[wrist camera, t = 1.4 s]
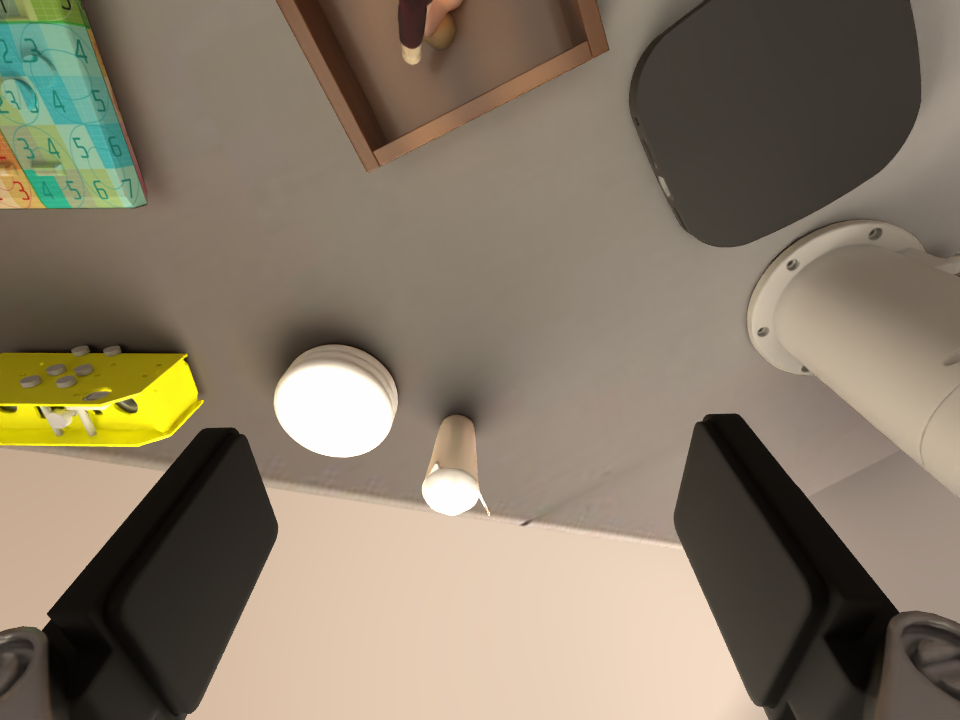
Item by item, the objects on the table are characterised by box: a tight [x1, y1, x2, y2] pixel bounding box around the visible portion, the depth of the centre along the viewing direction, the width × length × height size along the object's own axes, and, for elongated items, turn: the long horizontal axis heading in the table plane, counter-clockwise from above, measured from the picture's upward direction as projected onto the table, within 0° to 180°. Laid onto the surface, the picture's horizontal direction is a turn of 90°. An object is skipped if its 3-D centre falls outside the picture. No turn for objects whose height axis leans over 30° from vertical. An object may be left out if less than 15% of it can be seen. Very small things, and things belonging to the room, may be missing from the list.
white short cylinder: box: [274, 344, 398, 457], centre depth 41 cm, size 10×10×4 cm
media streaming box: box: [629, 0, 921, 247], centre depth 29 cm, size 15×15×3 cm
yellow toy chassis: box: [0, 346, 204, 447], centre depth 38 cm, size 16×6×8 cm, turn 90°
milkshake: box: [422, 415, 490, 516], centre depth 39 cm, size 5×5×10 cm
